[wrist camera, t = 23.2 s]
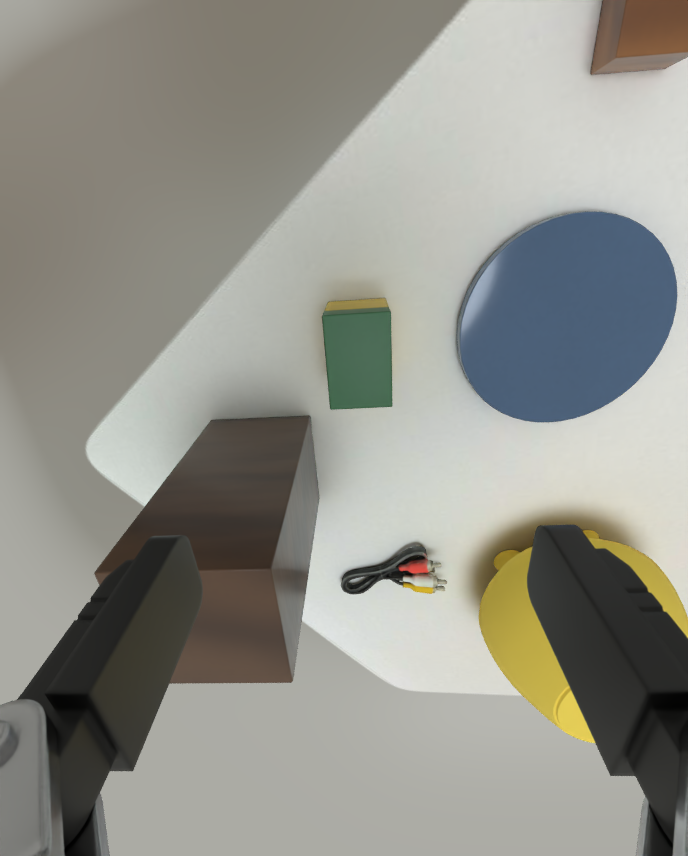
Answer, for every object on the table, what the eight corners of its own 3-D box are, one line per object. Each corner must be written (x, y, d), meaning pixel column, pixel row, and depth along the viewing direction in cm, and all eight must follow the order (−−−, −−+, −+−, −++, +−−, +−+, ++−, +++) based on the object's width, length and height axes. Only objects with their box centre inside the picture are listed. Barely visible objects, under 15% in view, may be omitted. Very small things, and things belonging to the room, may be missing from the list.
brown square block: (609, -41, 20) (640, -74, 18) (692, -49, 20) (734, -83, 18) (589, 75, 22) (615, 57, 20) (665, 69, 22) (700, 51, 20)
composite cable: (344, 589, 40) (343, 610, 38) (333, 553, 38) (332, 573, 36) (444, 576, 39) (449, 597, 37) (438, 538, 37) (444, 558, 35)
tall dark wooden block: (210, 419, 32) (92, 572, 18) (310, 415, 32) (270, 568, 17) (229, 501, 36) (143, 684, 21) (319, 498, 35) (292, 683, 21)
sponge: (327, 301, 28) (321, 315, 23) (385, 297, 28) (391, 311, 23) (334, 383, 31) (330, 410, 26) (387, 380, 30) (392, 407, 26)
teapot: (648, 639, 42) (768, 810, 30) (497, 670, 45) (550, 837, 33) (631, 489, 34) (787, 638, 22) (449, 539, 37) (495, 695, 25)
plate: (463, 220, 26) (467, 219, 25) (695, 203, 25) (708, 202, 24) (451, 420, 32) (453, 426, 31) (637, 413, 31) (645, 418, 30)
